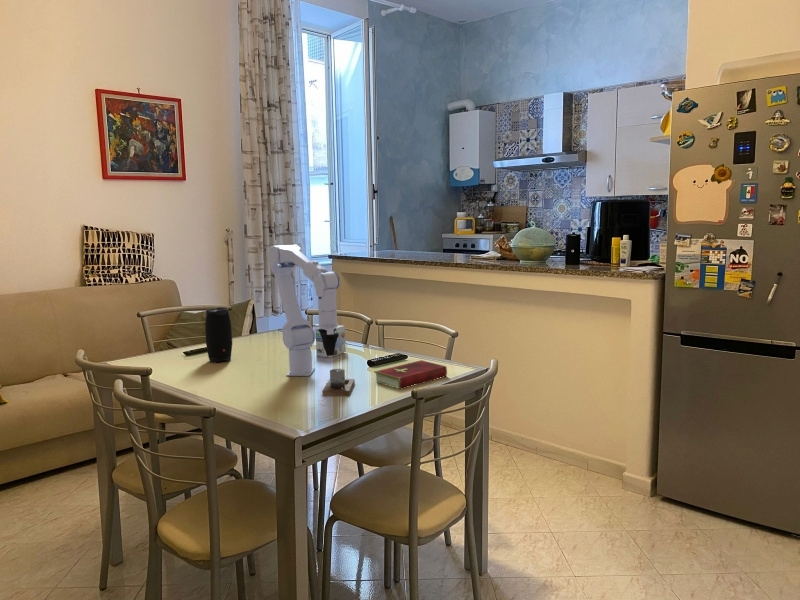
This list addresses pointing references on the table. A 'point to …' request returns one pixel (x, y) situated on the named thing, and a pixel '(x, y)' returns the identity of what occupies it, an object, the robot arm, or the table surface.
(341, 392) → the keyhole plate
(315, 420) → the table surface
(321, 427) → the table surface
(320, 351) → the light bulb box
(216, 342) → the portable speaker
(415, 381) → the hardcover book
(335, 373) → the peg
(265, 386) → the table surface
